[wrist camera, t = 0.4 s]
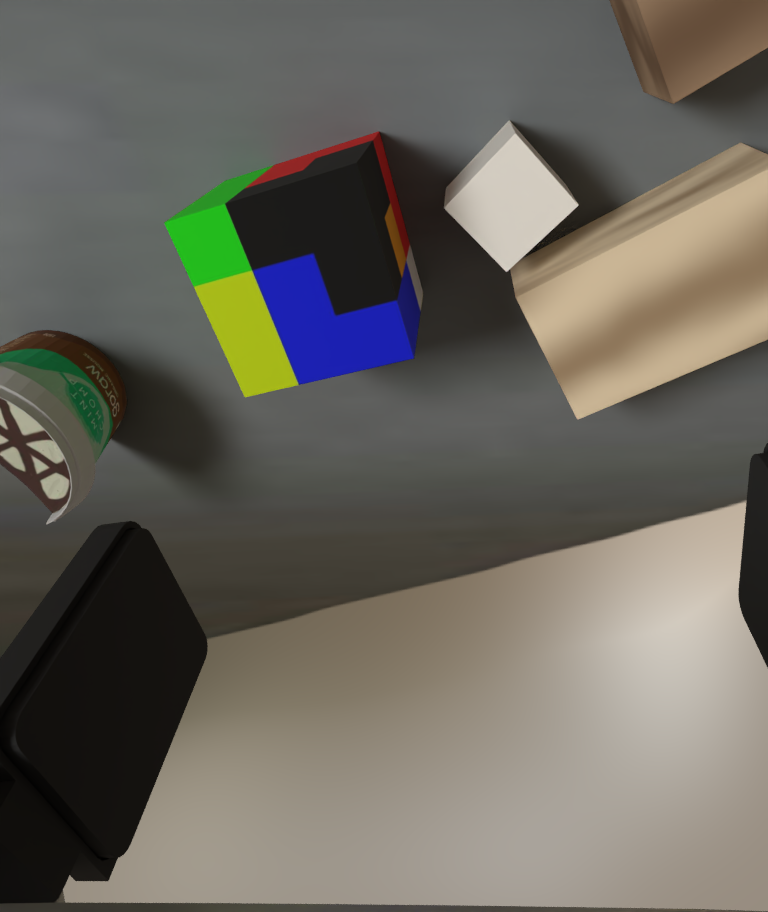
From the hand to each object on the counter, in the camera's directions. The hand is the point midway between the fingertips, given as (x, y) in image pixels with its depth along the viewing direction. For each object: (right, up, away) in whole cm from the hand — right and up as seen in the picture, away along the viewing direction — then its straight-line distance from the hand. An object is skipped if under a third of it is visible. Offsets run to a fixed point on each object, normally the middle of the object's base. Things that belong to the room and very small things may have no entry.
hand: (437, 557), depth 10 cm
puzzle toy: (-4, +16, +31) cm, 35 cm away
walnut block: (+14, +24, +23) cm, 36 cm away
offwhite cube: (+6, +18, +28) cm, 34 cm away
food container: (-23, +8, +39) cm, 45 cm away
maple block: (+15, +13, +30) cm, 37 cm away
